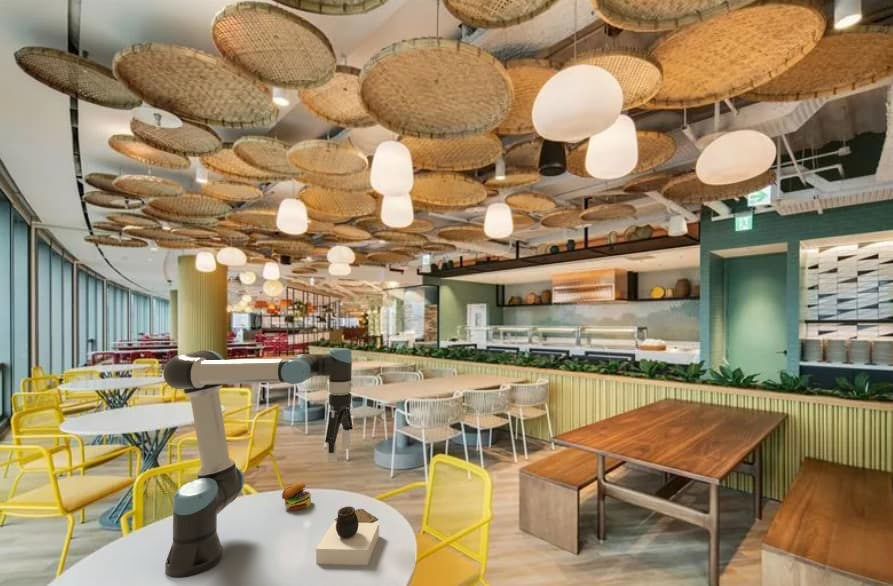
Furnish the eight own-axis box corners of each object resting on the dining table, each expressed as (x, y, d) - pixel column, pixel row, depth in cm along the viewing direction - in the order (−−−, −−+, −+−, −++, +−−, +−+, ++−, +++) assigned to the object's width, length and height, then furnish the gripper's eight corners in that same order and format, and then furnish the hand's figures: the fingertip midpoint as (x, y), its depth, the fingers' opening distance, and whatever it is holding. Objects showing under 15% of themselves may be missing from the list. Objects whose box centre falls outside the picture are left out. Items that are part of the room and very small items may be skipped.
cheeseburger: (303, 513, 158) (298, 487, 159) (279, 517, 160) (274, 491, 160) (317, 500, 168) (311, 476, 168) (294, 505, 170) (289, 481, 170)
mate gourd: (352, 525, 139) (350, 496, 139) (363, 534, 133) (361, 504, 133) (333, 534, 134) (330, 504, 134) (343, 544, 128) (341, 513, 128)
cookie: (333, 520, 153) (333, 518, 153) (361, 509, 161) (361, 507, 161) (350, 533, 144) (350, 530, 144) (379, 520, 152) (379, 517, 152)
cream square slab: (316, 565, 126) (316, 548, 126) (333, 537, 142) (333, 522, 142) (367, 566, 125) (367, 549, 125) (379, 537, 141) (379, 523, 141)
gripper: (338, 400, 130) (337, 469, 129) (361, 386, 155) (360, 443, 154) (315, 400, 131) (314, 468, 130) (341, 386, 156) (341, 443, 155)
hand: (339, 455), depth 142 cm, fingers open, 13 cm apart
